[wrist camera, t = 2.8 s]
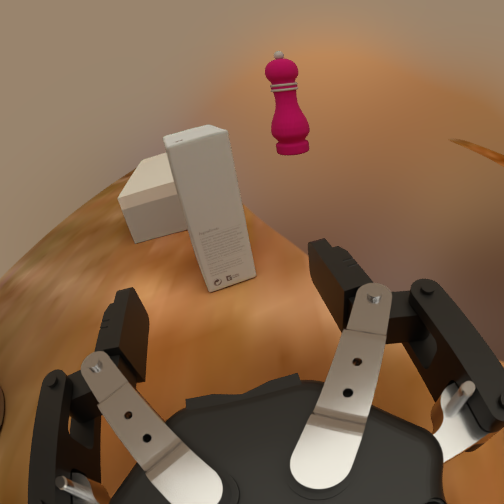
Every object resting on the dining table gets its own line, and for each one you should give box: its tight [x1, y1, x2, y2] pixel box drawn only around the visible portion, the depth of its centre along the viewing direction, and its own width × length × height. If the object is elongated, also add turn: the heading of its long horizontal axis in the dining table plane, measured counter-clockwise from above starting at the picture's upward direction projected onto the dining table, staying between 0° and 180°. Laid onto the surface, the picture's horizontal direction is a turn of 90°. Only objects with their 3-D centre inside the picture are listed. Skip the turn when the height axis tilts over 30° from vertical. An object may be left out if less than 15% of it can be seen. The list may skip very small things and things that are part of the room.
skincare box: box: [163, 125, 256, 292], centre depth 23 cm, size 6×4×12 cm
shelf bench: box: [118, 153, 188, 244], centre depth 39 cm, size 12×18×6 cm, turn 11°
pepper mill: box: [265, 51, 309, 155], centre depth 48 cm, size 7×7×20 cm
